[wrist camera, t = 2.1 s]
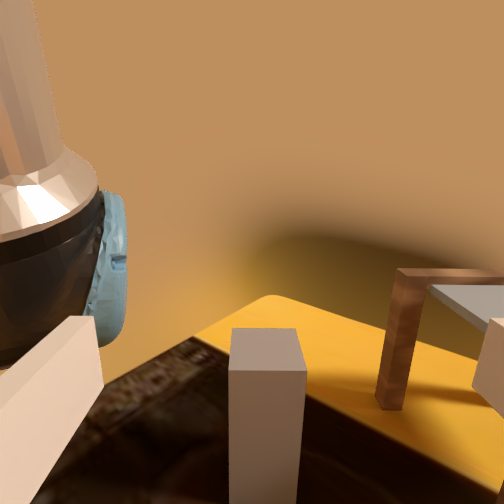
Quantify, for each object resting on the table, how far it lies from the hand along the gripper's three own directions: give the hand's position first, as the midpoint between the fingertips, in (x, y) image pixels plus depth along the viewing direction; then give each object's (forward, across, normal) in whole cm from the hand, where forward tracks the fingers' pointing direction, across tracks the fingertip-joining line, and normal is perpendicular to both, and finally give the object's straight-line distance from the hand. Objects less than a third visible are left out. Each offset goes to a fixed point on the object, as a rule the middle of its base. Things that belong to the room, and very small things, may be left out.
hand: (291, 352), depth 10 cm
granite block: (+10, 0, -18) cm, 21 cm away
